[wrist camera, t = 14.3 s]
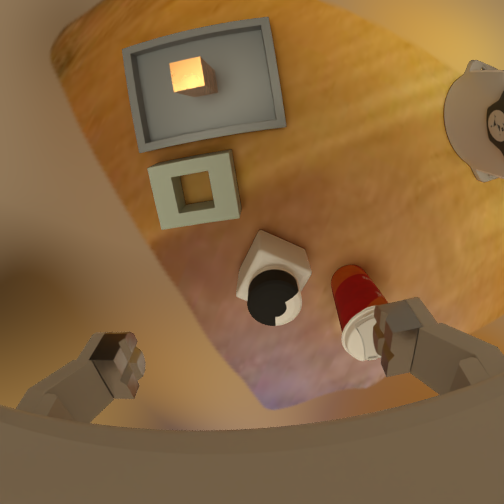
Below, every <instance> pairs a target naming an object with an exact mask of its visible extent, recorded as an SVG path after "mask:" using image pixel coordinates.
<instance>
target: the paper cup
mask: <svg viewBox="0 0 504 504" xmlns="http://www.w3.org/2000/svg"><path fill="white" fill-rule="evenodd" d="M331 287H332V292H333V296H334V301H335V305H336V309H337V313H338V317H339V321H340V325H341V330H342V345H343V347H344V349H345V350H346V351H347V352H348V353H349V354H351V356H353V357H354V358H356V359H358V360H361V361H364V359H365V360H368V361H369V360H375V359H377V358H381V356H380V355H378V354H377V353H376V350H375V347H374V343H373V326H374V325H375V324H376V323H377V322H376V320H375V318H374V309H375V306H376V305H381V304H386V303H388V302H387V301H386V299H385V298H384V296H383V295H382V294H381V292H380V291H379V289H378V288H377V287H376V285H375V284H374V283H373V281H372V280H371V279H370V277H369V276H368V275H367V274H366V272H365V271H364V270H363V269H362V268H360V267H359V266H356V265H346V266H343V267H341V268H340V269H338V270H337V271H336V272H335V274H334V275H333V277H332V280H331Z"/></svg>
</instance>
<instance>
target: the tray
mask: <svg viewBox="0 0 504 504" xmlns="http://www.w3.org/2000/svg"><path fill="white" fill-rule="evenodd" d="M122 53H123V60H124V67H125V74H126V81H127V87H128V94H129V100H130V105H131V111H132V117H133V122H134V128H135V133H136V138H137V143H138V148H139V153H142V152H146V151H151V150H155V149H159V148H164V147H169V146H173V145H178V144H183V143H188V142H193V141H198V140H203V139H209V138H214V137H220V136H226V135H232V134H238V133H245V132H252V131H259V130H266V129H274V128H282V127H286V121H285V114H284V107H283V100H282V94H281V87H280V81H279V75H278V69H277V63H276V57H275V51H274V45H273V40H272V34H271V28H270V23H269V18H268V17H263V18H254V19H247V20H240V21H234V22H227V23H222V24H216V25H211V26H206V27H201V28H196V29H192V30H188V31H183V32H179V33H175V34H171V35H167V36H164V37H160V38H157V39H153V40H150V41H146V42H143V43H140V44H137V45H133V46H130V47H127V48H124V49H122ZM199 56H200V57H201V58H202V59H203V60H205V61H206V62H207V63H208V64H209V65H210V66H211V67H212V68H213V69H214V70H215V76H216V82H217V88H218V93H214V94H209V95H204V96H199V97H191V96H187V95H183V94H179V93H175V92H174V90H173V84H172V78H171V72H170V65H169V63H173V62H177V61H181V60H186V59H190V58H195V57H199Z"/></svg>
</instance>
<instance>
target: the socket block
mask: <svg viewBox="0 0 504 504" xmlns="http://www.w3.org/2000/svg"><path fill="white" fill-rule="evenodd" d="M147 169H148V173H149V178H150V182H151V187H152V191H153V196H154V200H155V204H156V208H157V212H158V217H159V221H160V225H161V229H162V230H163V229H169V228H176V227H182V226H189V225H195V224H202V223H209V222H215V221H222V220H229V219H236V218H240V214H241V203H240V197H239V191H238V185H237V179H236V173H235V167H234V161H233V155H232V149H230V150H224V151H218V152H212V153H206V154H201V155H195V156H190V157H185V158H180V159H175V160H170V161H165V162H160V163H157V164H155V165H153V166H151V167H149V168H147ZM203 171H208V172H209V178H210V183H211V189H212V194H213V199H214V200H212V201H206V202H200V203H193V204H187V205H186V204H185V199H184V194H183V189H182V185H181V180H180V176H181V175H187V174H192V173H198V172H203Z"/></svg>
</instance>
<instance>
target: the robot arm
mask: <svg viewBox="0 0 504 504" xmlns="http://www.w3.org/2000/svg"><path fill="white" fill-rule="evenodd" d="M481 68H482V70H481ZM444 120H445V127H446V131H447V135H448V138H449V140H450V143H451V145H452V147H453V148H454V150H455V151H456V153H457V154H458V155H459V156H460V157H461V158H462V159H463V160H464V161H465V162H466V163H467V164H468V165H469V166H470V167H471V169H472V171H473V173H474V175H475V177H476V178H477V180H478V181H481V182H487V181H490V180H493V179H496V178H502V179H504V70H498V69H496V68H494V67H492V66H490V65H487V64H485V63H483V62H481V61H478V60H471V61H470V62H469V64H468V66H467V68H466V71H465V73H464V74H463V75H462V76H461V77H460V78H459V79H457V80H456V81H455V82H454V83H453V85H452V86H451V88H450V90H449V92H448V94H447V97H446V101H445V108H444ZM374 318H375V320H376V322H377V323H376V324H375V325H374V326H373V343H374V347H375V350H376V353H377V354H378V355H380V356H381V365H382V367H383V370H384V372H385V375H386V377H388V376H394V375H399V374H404V373H408V372H411V374H412V375H414V376H415V377H416V378H418V379H419V380H420V381H422V382H423V383H425V384H426V385H427V386H429V387H430V388H431V389H433V390H434V391H435V392H437V393H438V394H439V396H436V397H432V398H429V399H425V400H422V401H418V402H414V403H411V404H407V405H403V406H399V407H395V408H391V409H387V410H382V411H378V412H373V413H368V414H363V415H358V416H353V417H347V418H342V419H336V420H330V421H323V422H316V423H308V424H300V425H291V426H281V427H270V428H258V429H243V430H242V429H241V430H214V431H213V430H211V431H186V430H184V431H183V430H155V429H140V428H127V427H116V426H107V425H99V424H92V423H90V422H91V421H92V420H93V419H94V418H95V417H96V416H97V415H98V414H99V413H100V412H101V411H102V410H103V409H105V408H106V406H108V405H109V404H110V403H111V402H112V401H113V400H114V399H113V398H120V399H121V398H122V399H134V398H135V396H136V393H137V390H138V388H139V383H138V380H139V379H140V378H141V377H143V374H144V372H145V359H144V356H143V353H142V351H141V350H140V349H138V348H137V347H136V344H137V339H136V337H135V335H134V334H133V333H131V332H100V333H95V334H93V335H92V337H91V338H90V340H89V341H88V343H87V344H86V346H85V348H84V349H83V351H82V352H81V354H80V355H79V357H78V359H77V360H72V361H71V362H69V363H68V364H66V365H65V366H63V367H62V368H60V369H59V370H57V371H55V372H54V373H52V374H51V375H49V376H48V377H46V378H45V379H43V380H42V381H40V382H38V383H37V384H35V385H34V386H32V387H31V388H29V389H28V390H27V392H26V393H25V395H24V397H23V398H22V400H21V401H20V403H19V404H18V406H17V407H16V409H14V408H10V407H6V406H2V405H0V504H504V355H503V354H502V352H501V351H500V350H499V349H498V347H496V346H494V345H491V344H489V343H487V342H485V341H482V340H480V339H478V338H475V337H473V336H471V335H469V334H466V333H464V332H462V331H459V330H457V329H455V328H453V327H450V326H448V325H446V324H443V323H439V324H438V323H437V322H436V320H435V319H434V317H433V316H432V315H431V313H430V312H429V311H428V309H427V308H426V306H425V305H424V304H423V302H422V301H421V300H420V298H418V297H414V298H409V299H405V300H402V301H397V302H392V303H386V304H381V305H376V306H375V309H374Z"/></svg>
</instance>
